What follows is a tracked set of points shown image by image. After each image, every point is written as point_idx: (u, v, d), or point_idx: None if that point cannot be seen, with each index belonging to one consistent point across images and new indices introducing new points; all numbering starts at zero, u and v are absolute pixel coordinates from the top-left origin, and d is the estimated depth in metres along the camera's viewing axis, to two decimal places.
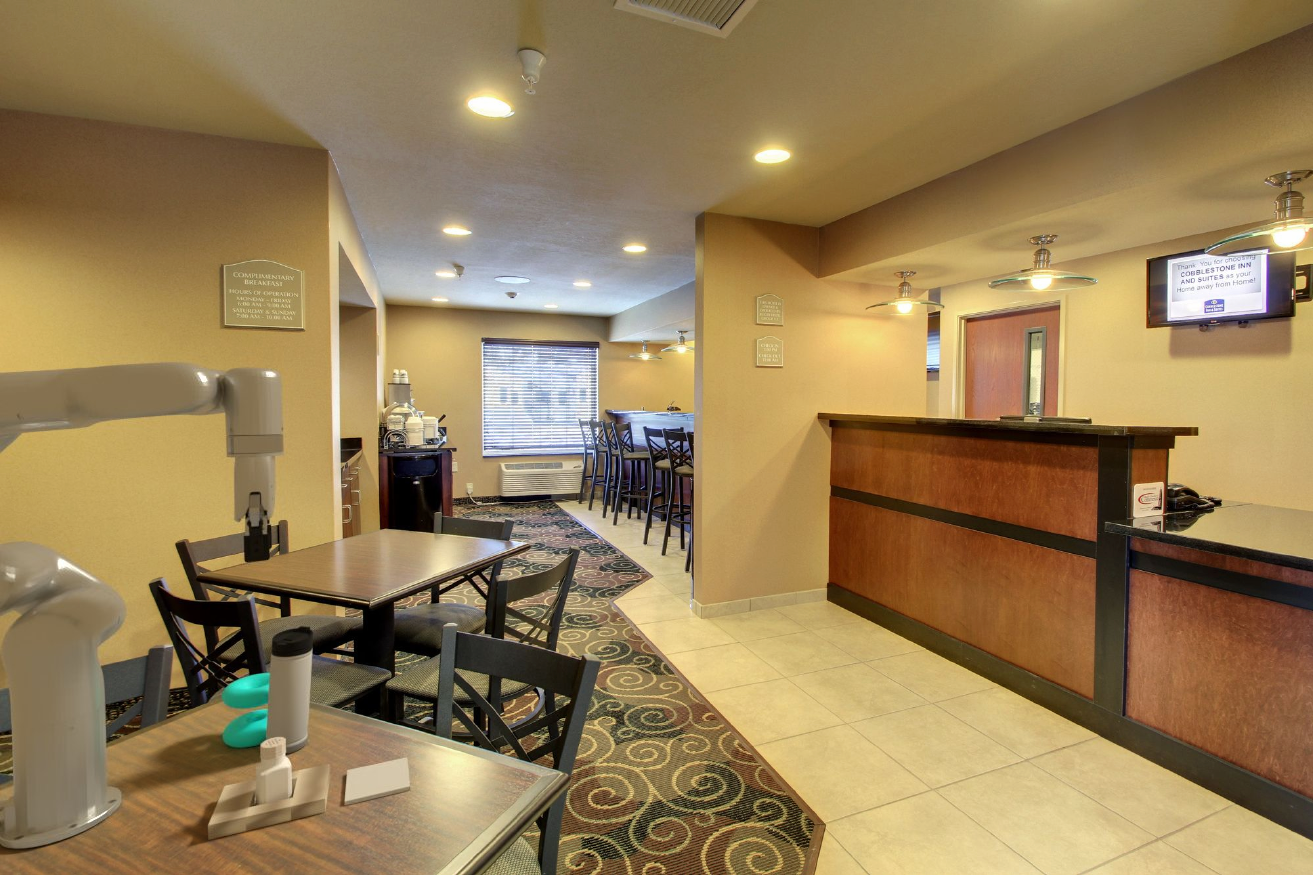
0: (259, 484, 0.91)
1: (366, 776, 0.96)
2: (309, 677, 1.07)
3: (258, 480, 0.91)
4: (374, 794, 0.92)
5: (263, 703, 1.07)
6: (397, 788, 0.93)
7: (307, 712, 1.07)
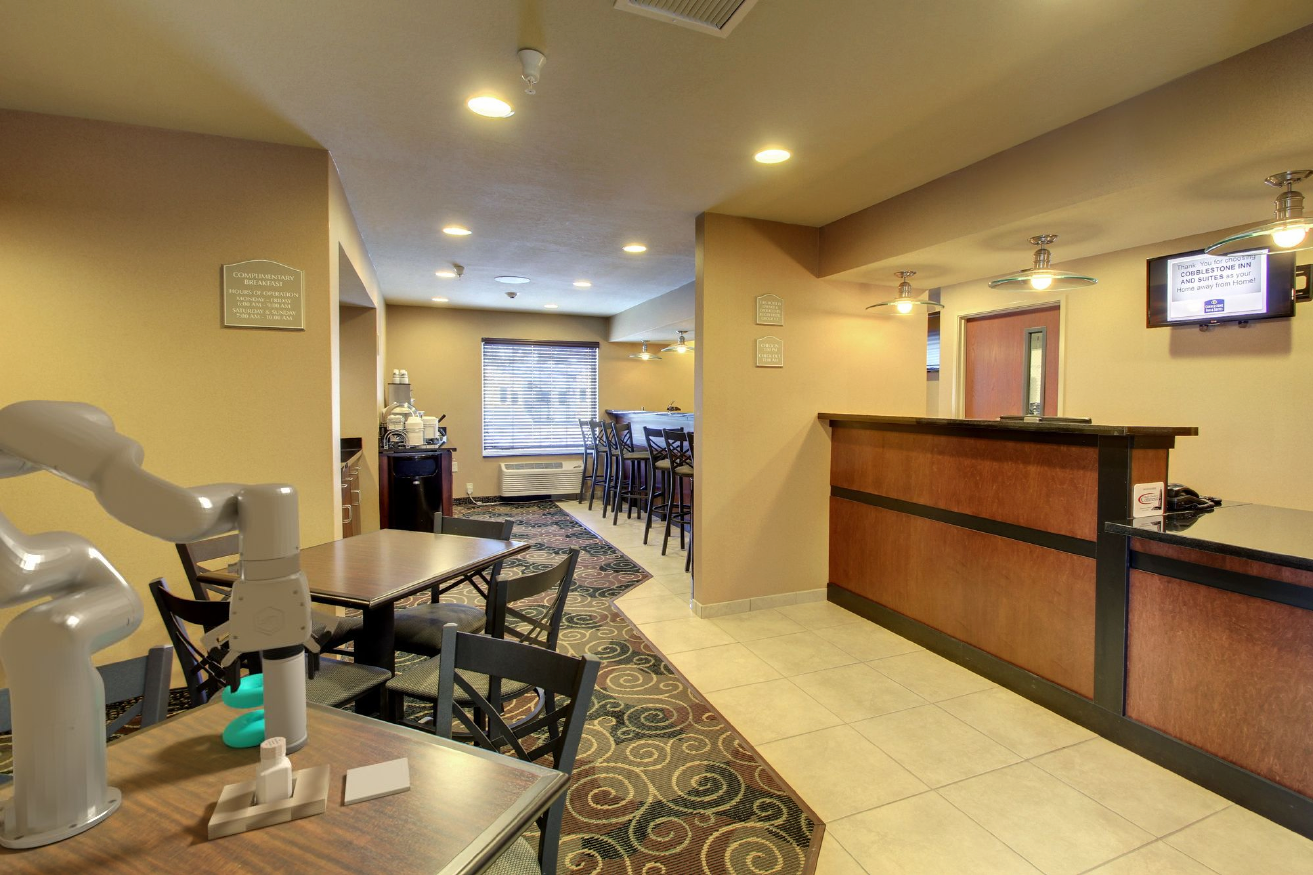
0: (310, 599, 0.92)
1: (366, 776, 0.96)
2: (303, 678, 1.06)
3: None
4: (374, 794, 0.92)
5: (263, 703, 1.07)
6: (397, 788, 0.93)
7: (304, 712, 1.06)
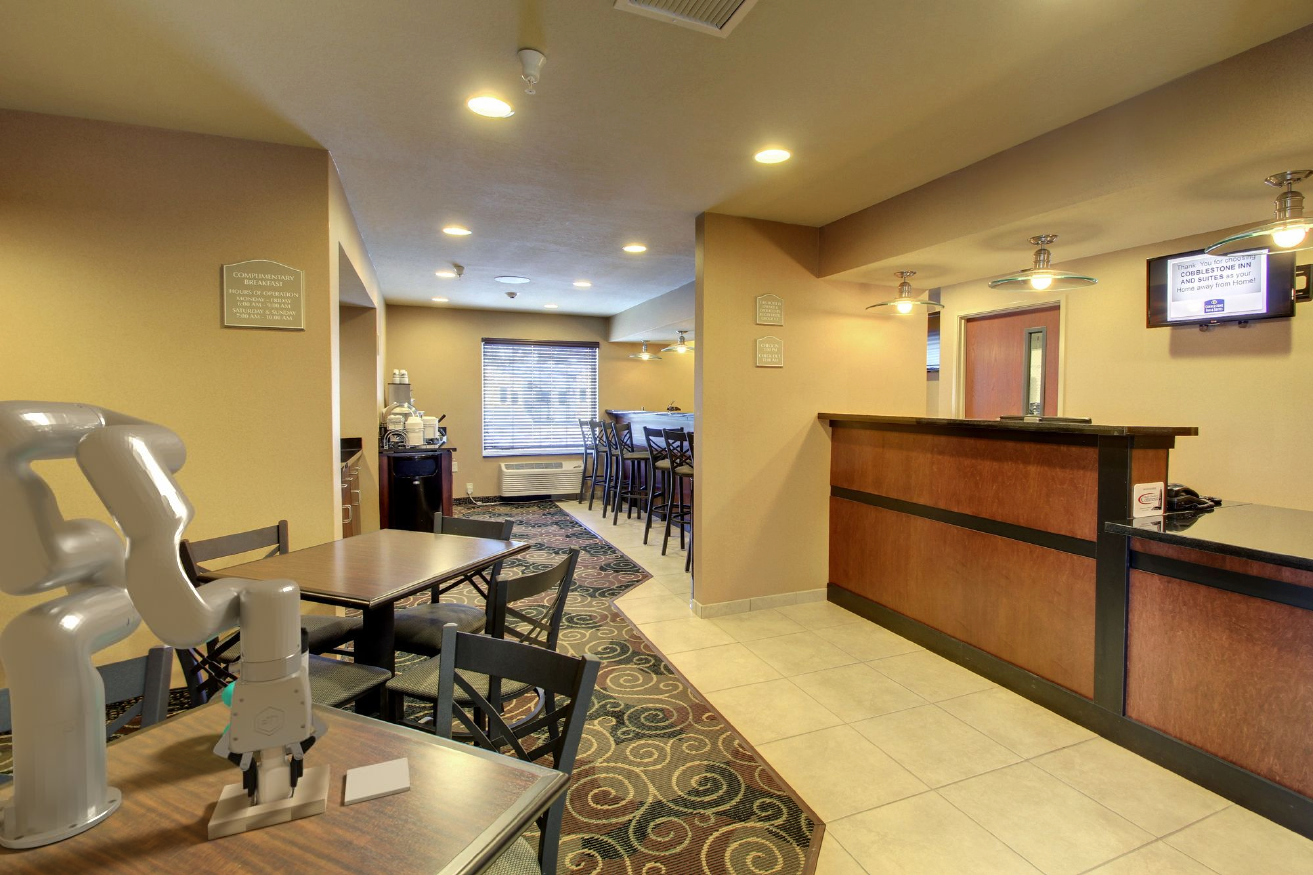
0: None
1: (366, 776, 0.96)
2: None
3: (310, 690, 0.92)
4: (374, 794, 0.92)
5: None
6: (397, 788, 0.93)
7: None
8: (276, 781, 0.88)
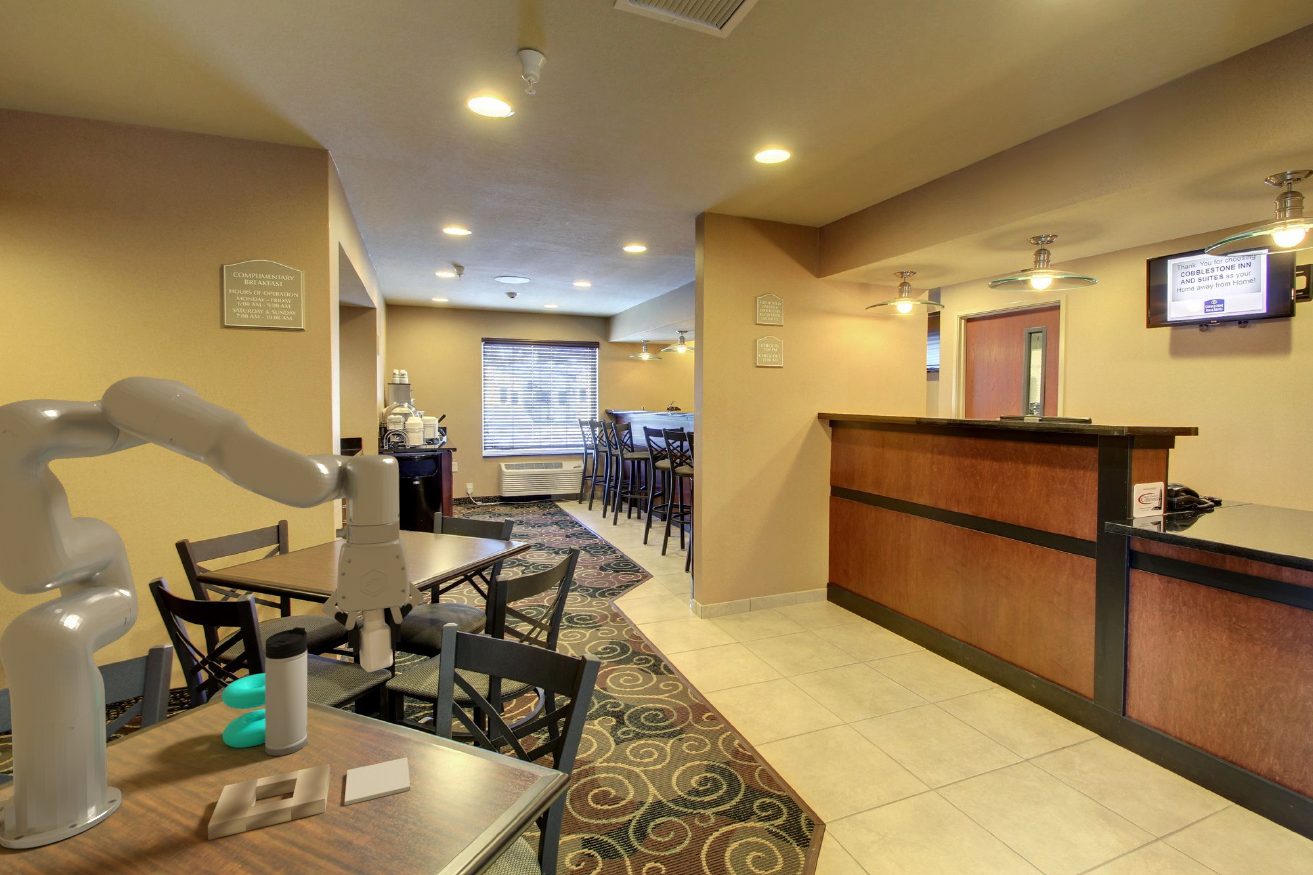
0: None
1: (366, 776, 0.96)
2: (305, 678, 1.06)
3: None
4: (374, 794, 0.92)
5: (263, 703, 1.07)
6: (397, 788, 0.93)
7: (305, 713, 1.06)
8: (378, 642, 0.94)
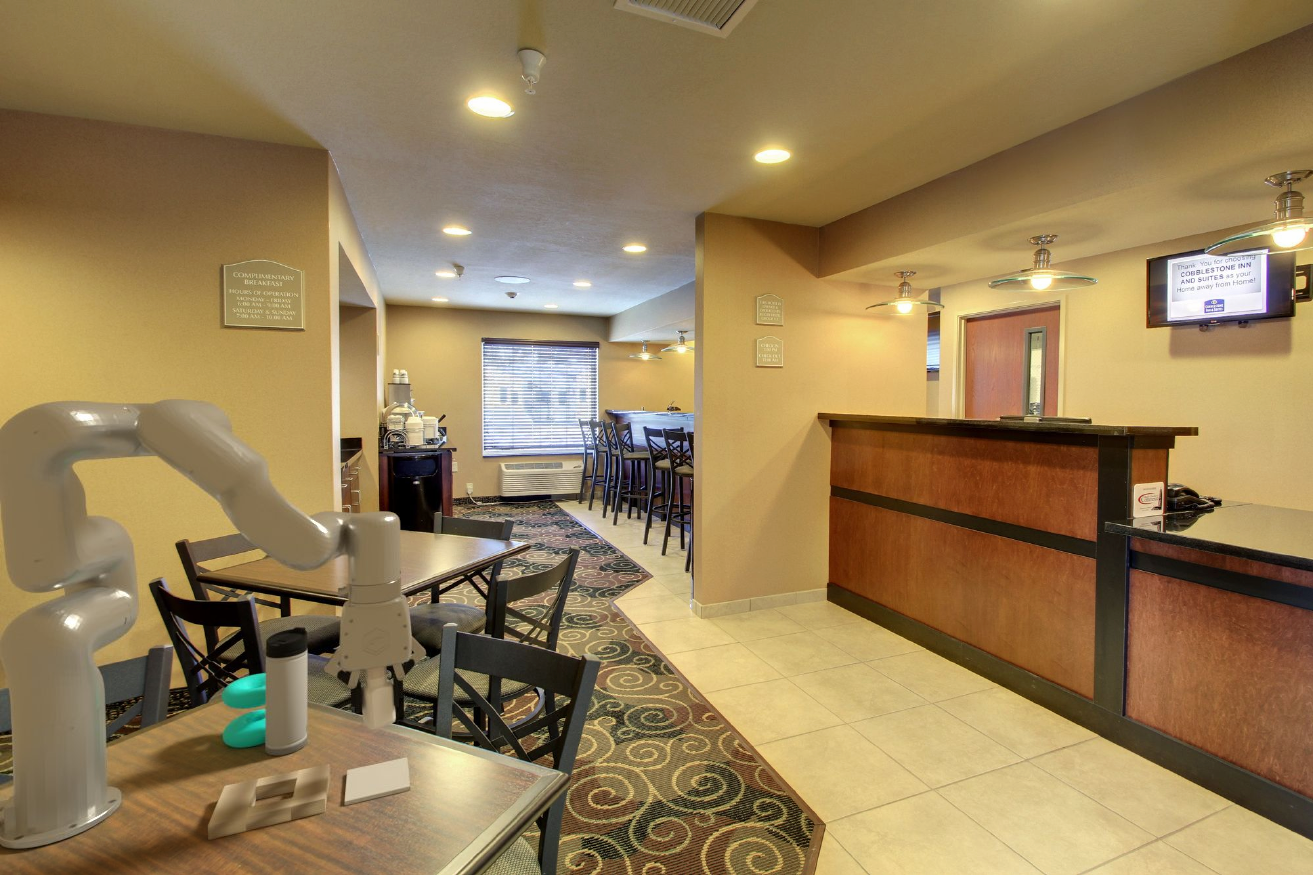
0: None
1: (366, 776, 0.96)
2: (305, 678, 1.06)
3: None
4: (374, 794, 0.92)
5: (263, 703, 1.07)
6: (397, 788, 0.93)
7: (305, 713, 1.06)
8: (381, 699, 0.94)
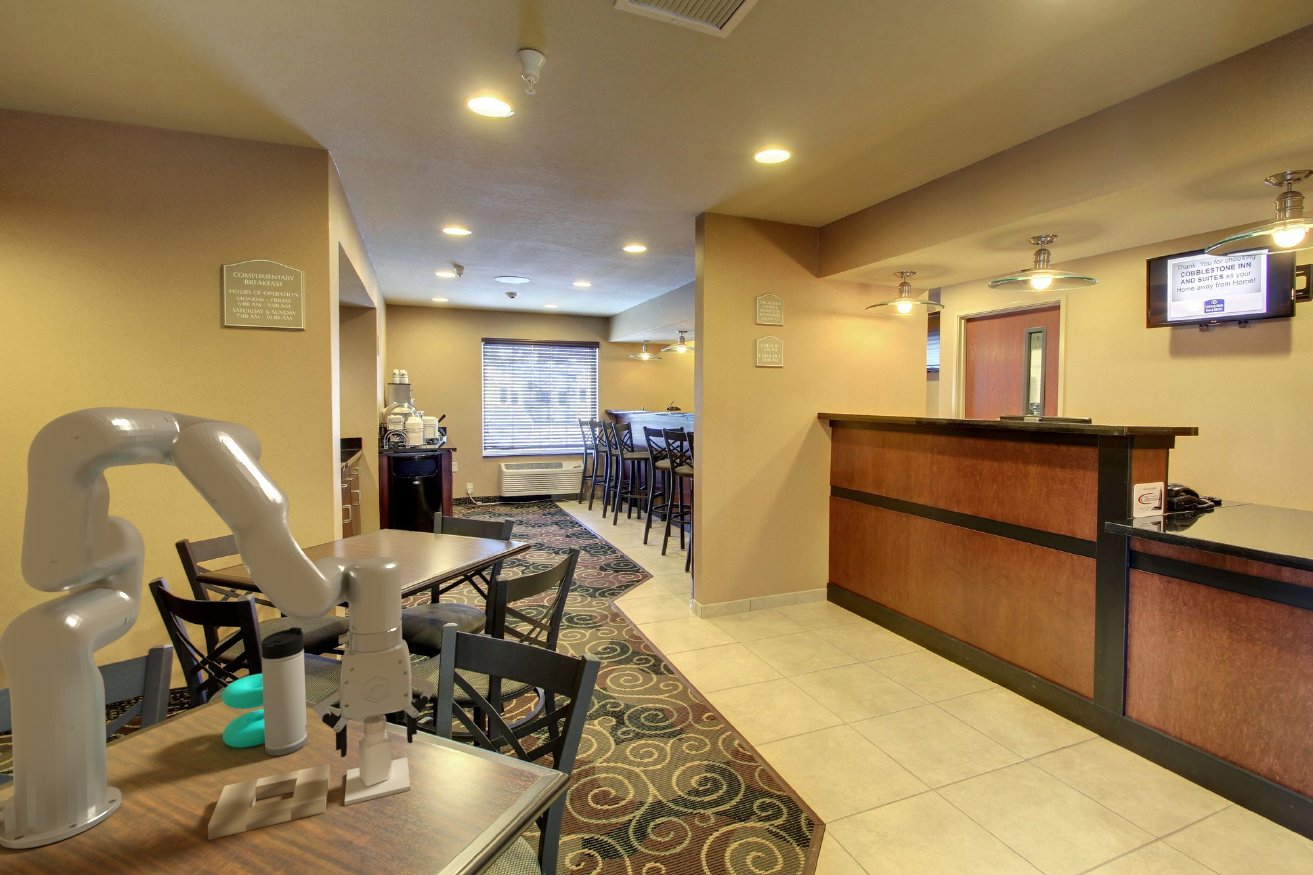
0: None
1: None
2: (302, 678, 1.06)
3: None
4: (374, 794, 0.92)
5: None
6: (397, 788, 0.93)
7: (303, 712, 1.06)
8: (378, 755, 0.94)
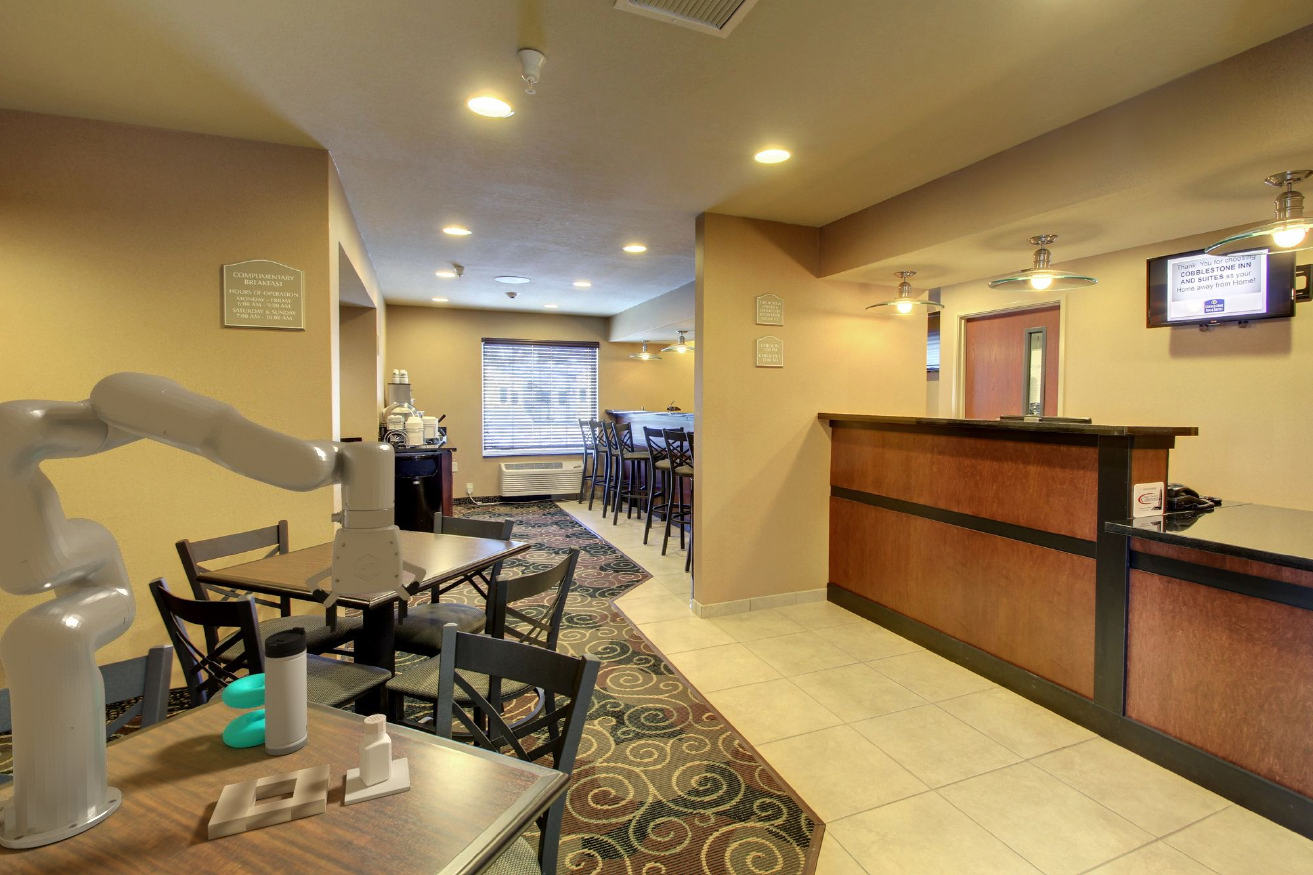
0: None
1: None
2: (304, 678, 1.06)
3: None
4: (374, 794, 0.92)
5: (263, 703, 1.07)
6: (397, 788, 0.93)
7: (304, 713, 1.06)
8: (378, 755, 0.94)
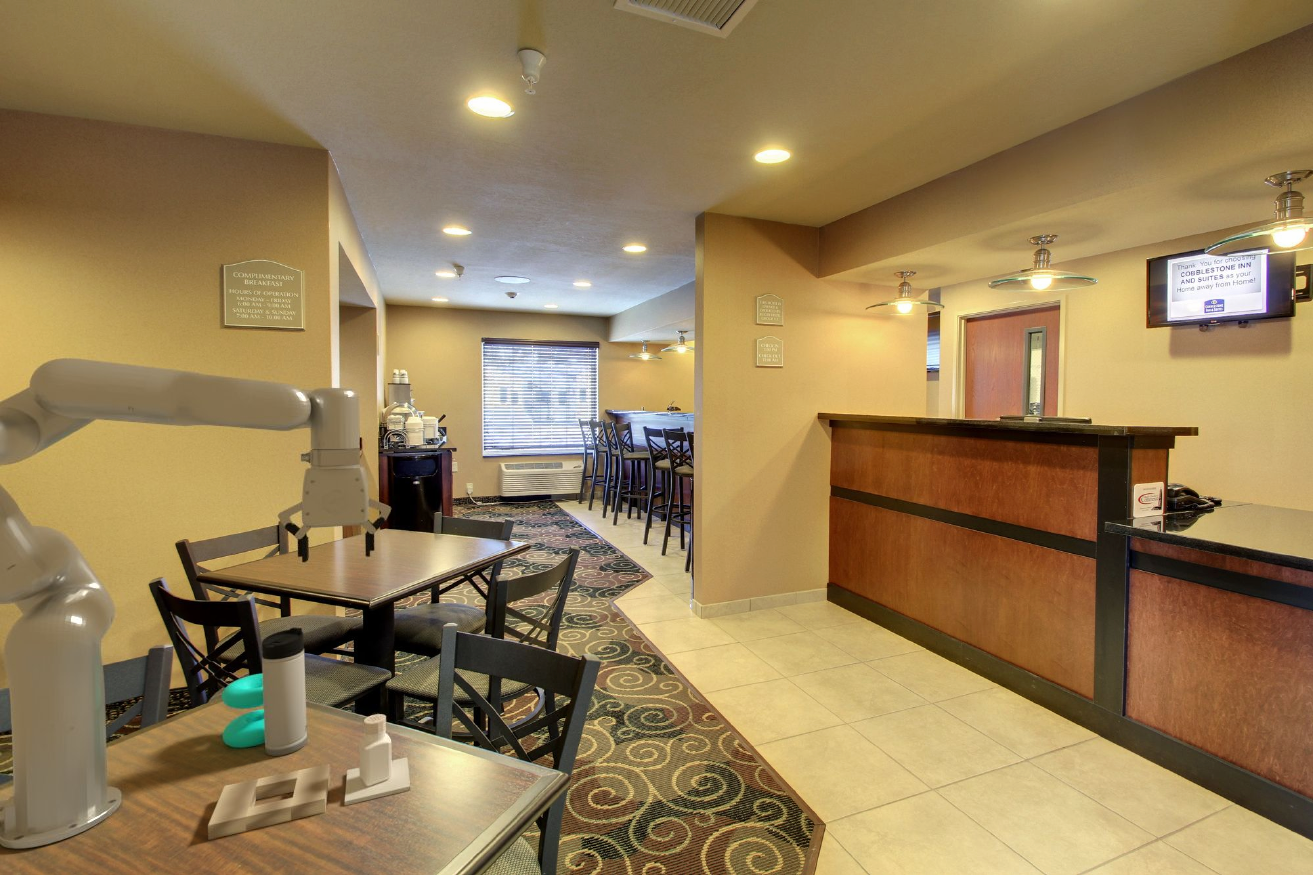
0: None
1: None
2: (302, 678, 1.06)
3: None
4: (374, 794, 0.92)
5: (263, 703, 1.07)
6: (397, 788, 0.93)
7: (303, 713, 1.06)
8: (378, 755, 0.94)
